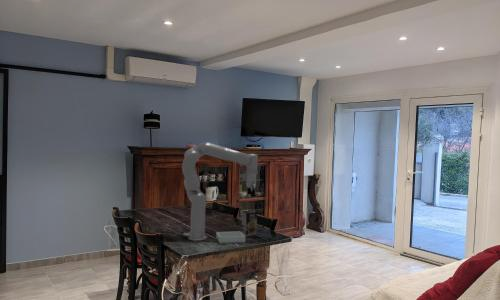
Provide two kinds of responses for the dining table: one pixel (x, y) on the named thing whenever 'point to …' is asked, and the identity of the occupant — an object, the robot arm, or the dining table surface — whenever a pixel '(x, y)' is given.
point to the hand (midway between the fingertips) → (251, 195)
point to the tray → (230, 237)
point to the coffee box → (249, 223)
